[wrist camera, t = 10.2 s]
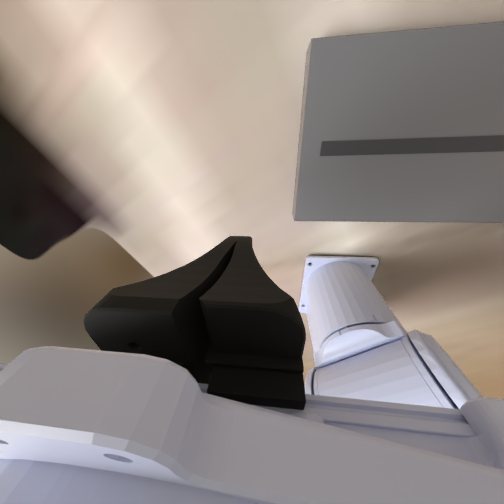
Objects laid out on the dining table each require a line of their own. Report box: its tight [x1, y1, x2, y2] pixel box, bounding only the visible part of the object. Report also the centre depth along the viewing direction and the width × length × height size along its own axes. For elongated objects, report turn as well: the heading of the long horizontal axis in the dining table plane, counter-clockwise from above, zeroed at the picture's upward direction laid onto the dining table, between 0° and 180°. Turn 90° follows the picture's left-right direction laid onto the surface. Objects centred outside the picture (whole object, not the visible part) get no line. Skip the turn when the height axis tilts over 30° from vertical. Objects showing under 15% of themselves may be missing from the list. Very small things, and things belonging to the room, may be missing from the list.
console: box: [293, 22, 504, 223], centre depth 14 cm, size 12×26×2 cm, turn 92°
